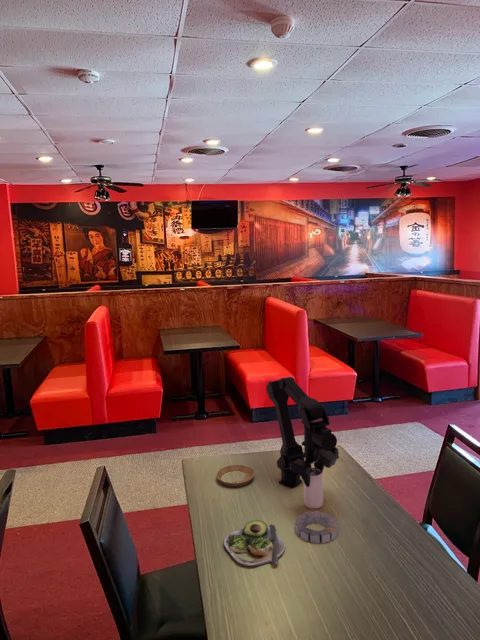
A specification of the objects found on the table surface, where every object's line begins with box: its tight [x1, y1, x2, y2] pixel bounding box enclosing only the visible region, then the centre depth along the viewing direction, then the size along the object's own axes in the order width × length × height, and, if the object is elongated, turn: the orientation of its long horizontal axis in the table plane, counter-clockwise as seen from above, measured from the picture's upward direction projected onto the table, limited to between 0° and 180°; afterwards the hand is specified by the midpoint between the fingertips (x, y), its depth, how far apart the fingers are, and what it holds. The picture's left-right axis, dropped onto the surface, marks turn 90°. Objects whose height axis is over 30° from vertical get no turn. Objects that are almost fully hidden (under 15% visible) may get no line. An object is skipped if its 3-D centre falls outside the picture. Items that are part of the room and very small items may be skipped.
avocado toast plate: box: [223, 519, 286, 567], centre depth 137 cm, size 19×18×5 cm
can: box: [303, 467, 324, 510], centre depth 159 cm, size 6×6×12 cm
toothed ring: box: [294, 510, 338, 545], centre depth 145 cm, size 13×13×3 cm
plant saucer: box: [216, 464, 256, 487], centre depth 179 cm, size 15×15×3 cm
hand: (313, 482), depth 159 cm, fingers closed on can, 6 cm apart
